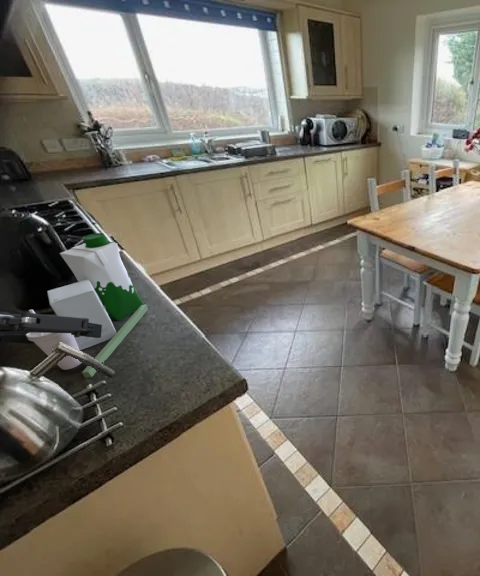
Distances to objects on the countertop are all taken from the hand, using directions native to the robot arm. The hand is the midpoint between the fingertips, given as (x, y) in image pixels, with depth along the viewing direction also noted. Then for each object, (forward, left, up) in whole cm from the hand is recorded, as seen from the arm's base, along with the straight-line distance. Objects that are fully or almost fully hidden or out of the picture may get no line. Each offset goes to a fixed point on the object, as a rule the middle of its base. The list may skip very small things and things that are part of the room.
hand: (67, 334), depth 68 cm
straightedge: (+6, +4, -6) cm, 9 cm away
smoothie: (0, -3, -6) cm, 6 cm away
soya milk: (0, +16, -6) cm, 17 cm away
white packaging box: (0, +6, -6) cm, 9 cm away
